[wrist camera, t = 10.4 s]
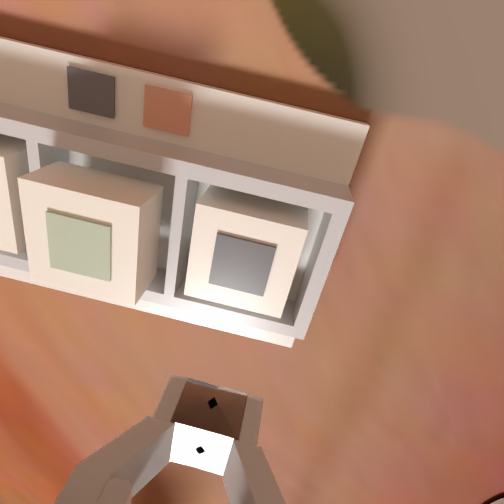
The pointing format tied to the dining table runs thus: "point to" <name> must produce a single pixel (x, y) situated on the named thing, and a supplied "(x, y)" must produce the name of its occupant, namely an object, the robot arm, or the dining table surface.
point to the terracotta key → (12, 193)
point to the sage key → (91, 230)
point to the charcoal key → (245, 250)
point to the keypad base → (185, 166)
